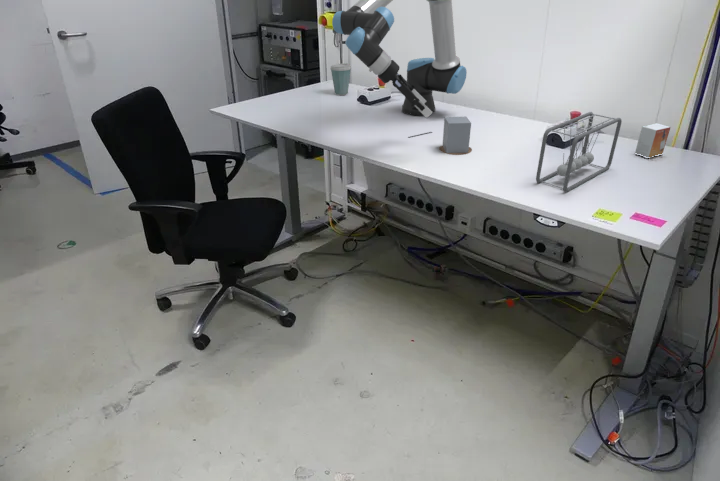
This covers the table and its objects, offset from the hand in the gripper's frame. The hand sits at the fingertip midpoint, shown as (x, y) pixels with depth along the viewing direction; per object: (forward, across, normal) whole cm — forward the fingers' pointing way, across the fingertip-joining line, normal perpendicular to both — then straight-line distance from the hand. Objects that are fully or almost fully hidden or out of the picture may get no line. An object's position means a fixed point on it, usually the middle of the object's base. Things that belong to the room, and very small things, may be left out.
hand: (426, 109), depth 181 cm
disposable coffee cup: (-9, -87, -33) cm, 94 cm away
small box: (+68, +11, +44) cm, 81 cm away
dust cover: (+18, +1, -3) cm, 19 cm away
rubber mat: (+14, -12, -9) cm, 20 cm away
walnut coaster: (+19, +1, -3) cm, 19 cm away
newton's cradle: (+43, +28, +20) cm, 55 cm away
